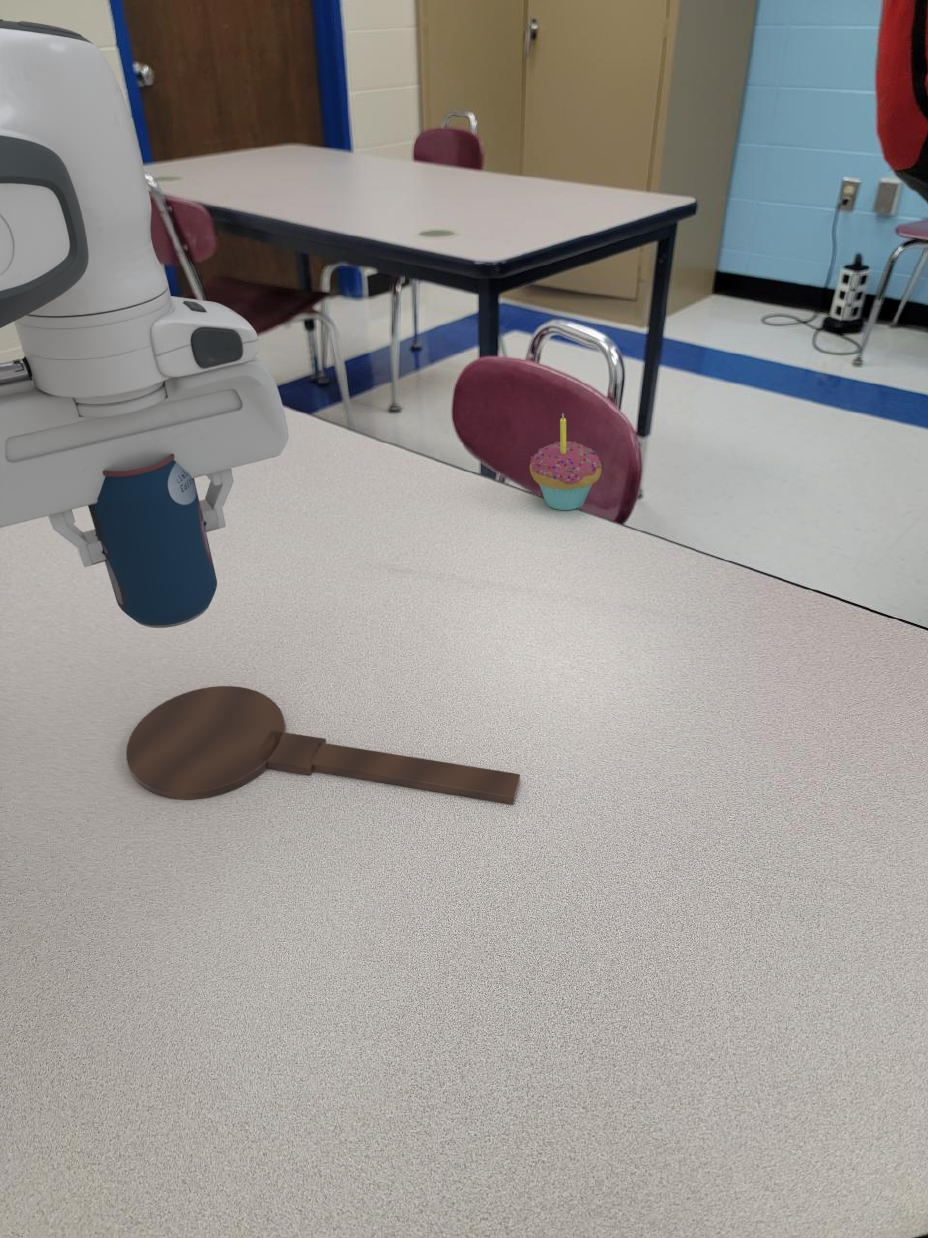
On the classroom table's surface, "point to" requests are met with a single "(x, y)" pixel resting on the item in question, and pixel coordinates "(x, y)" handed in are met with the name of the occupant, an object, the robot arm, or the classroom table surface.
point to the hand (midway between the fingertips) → (155, 543)
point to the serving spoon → (273, 752)
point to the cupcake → (565, 471)
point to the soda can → (155, 544)
